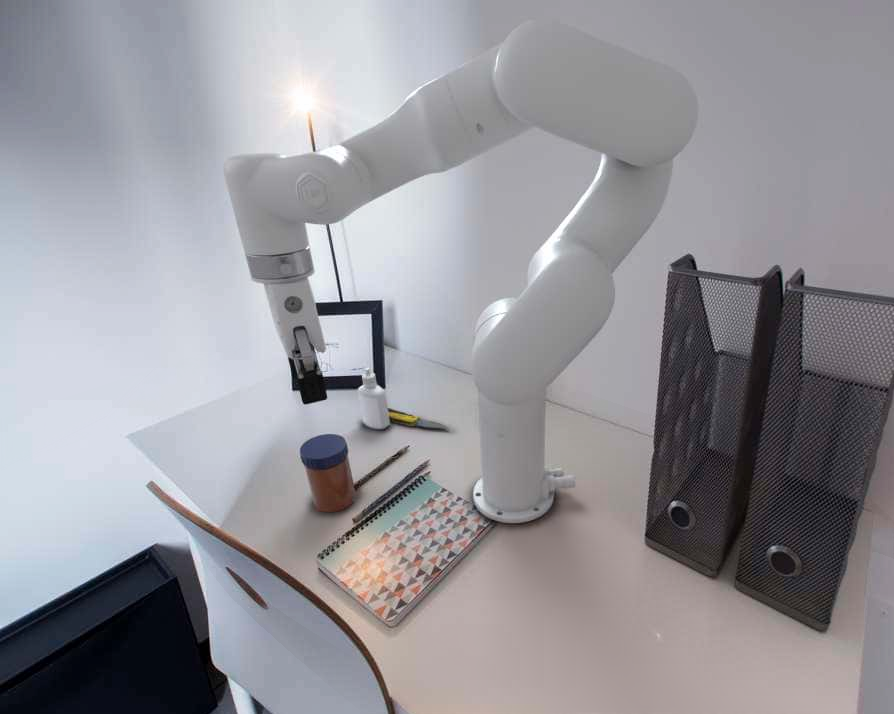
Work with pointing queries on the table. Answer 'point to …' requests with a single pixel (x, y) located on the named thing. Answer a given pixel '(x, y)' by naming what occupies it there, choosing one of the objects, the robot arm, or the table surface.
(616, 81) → the robot arm
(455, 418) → the table surface
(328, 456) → the jar lid
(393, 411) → the utility knife
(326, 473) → the jar
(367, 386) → the eye dropper bottle
